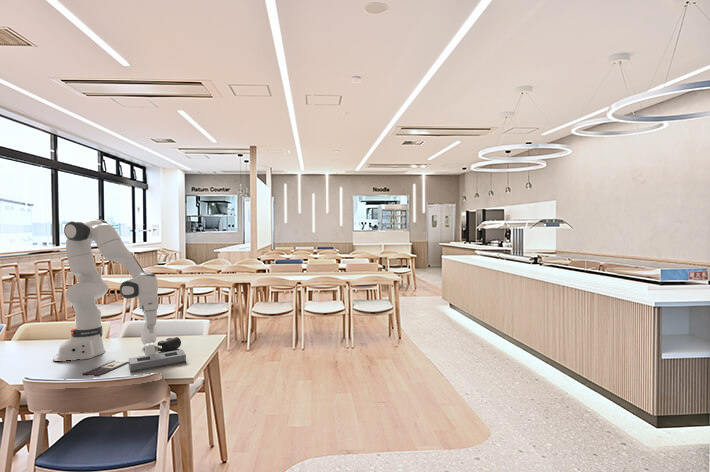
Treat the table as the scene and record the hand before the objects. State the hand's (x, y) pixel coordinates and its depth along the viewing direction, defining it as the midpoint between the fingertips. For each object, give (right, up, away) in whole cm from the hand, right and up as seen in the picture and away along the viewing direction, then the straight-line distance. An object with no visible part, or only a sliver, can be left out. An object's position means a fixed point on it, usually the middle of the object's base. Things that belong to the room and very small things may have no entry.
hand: (150, 330), depth 203 cm
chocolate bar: (-13, -15, -15) cm, 25 cm away
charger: (0, -14, 0) cm, 14 cm away
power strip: (+9, -14, -10) cm, 19 cm away
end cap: (+5, -14, +10) cm, 18 cm away
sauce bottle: (-11, -14, +20) cm, 26 cm away
